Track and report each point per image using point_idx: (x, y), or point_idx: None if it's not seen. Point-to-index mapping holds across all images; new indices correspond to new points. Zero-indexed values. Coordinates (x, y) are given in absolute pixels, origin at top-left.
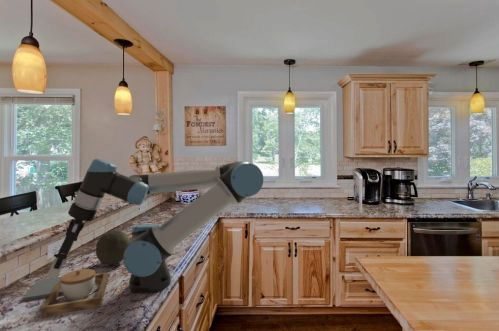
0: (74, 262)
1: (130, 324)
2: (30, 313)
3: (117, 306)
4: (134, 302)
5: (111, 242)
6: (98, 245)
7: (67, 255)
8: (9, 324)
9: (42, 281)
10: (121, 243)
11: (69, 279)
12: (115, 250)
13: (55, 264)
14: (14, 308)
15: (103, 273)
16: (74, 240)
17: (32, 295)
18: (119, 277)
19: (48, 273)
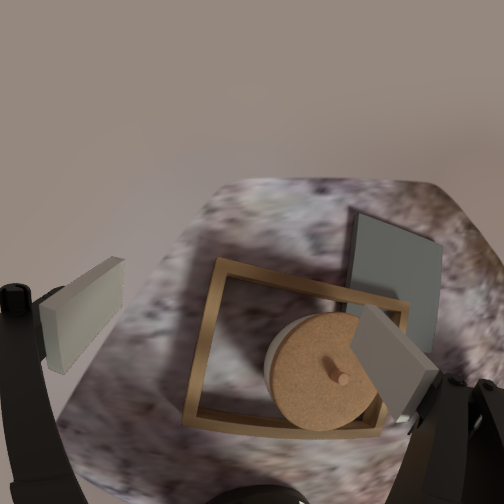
0: (495, 322)
1: None
2: (265, 233)
3: (158, 449)
4: (159, 483)
5: None
6: None
7: (360, 361)
8: (229, 189)
9: (433, 256)
10: None
11: (301, 347)
12: None
13: (44, 297)
14: (322, 197)
15: (378, 426)
16: (415, 425)
17: (362, 234)
18: (360, 455)
19: (103, 263)
